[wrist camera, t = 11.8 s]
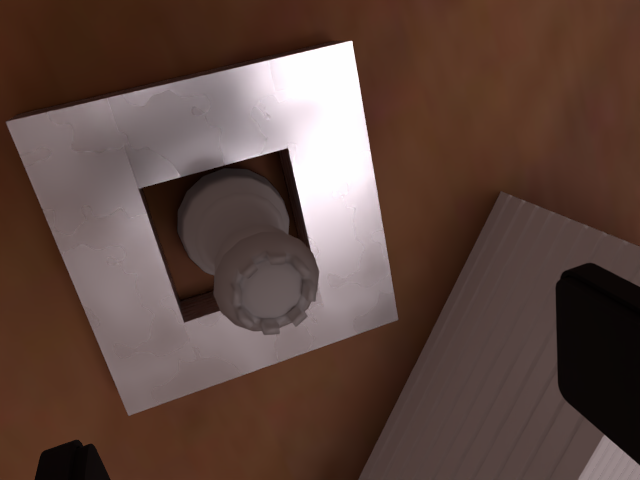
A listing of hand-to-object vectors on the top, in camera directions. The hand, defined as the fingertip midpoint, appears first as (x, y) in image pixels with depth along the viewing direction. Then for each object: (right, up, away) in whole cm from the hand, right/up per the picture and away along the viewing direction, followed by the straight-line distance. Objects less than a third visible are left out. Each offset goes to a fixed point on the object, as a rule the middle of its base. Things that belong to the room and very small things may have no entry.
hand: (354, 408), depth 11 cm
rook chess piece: (-4, +4, +13) cm, 14 cm away
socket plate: (-5, +4, +12) cm, 14 cm away
